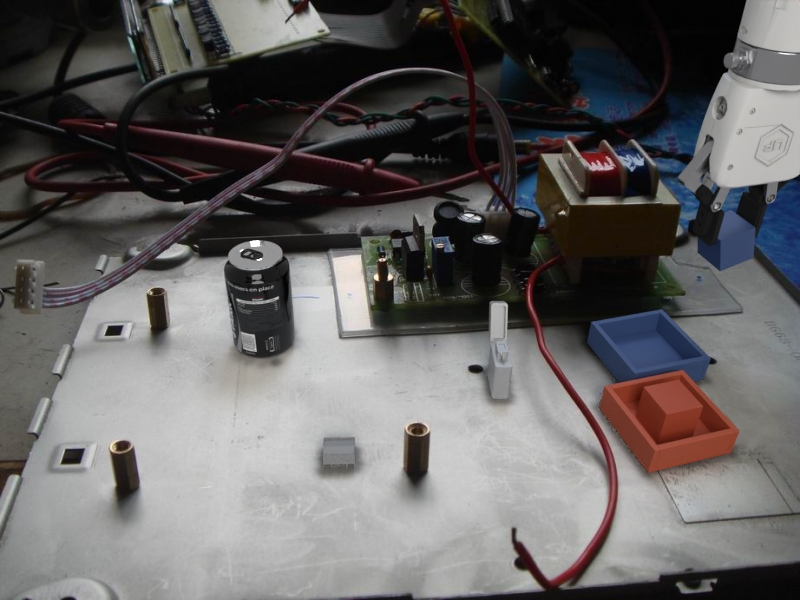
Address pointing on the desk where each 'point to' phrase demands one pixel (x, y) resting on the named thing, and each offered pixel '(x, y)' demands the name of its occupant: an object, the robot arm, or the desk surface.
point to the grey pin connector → (339, 451)
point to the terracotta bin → (707, 441)
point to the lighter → (499, 351)
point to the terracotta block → (668, 411)
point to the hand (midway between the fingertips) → (724, 234)
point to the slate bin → (646, 347)
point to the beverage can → (260, 299)
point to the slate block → (730, 243)
